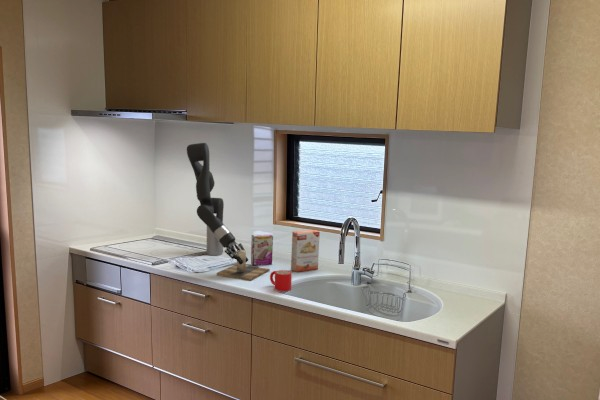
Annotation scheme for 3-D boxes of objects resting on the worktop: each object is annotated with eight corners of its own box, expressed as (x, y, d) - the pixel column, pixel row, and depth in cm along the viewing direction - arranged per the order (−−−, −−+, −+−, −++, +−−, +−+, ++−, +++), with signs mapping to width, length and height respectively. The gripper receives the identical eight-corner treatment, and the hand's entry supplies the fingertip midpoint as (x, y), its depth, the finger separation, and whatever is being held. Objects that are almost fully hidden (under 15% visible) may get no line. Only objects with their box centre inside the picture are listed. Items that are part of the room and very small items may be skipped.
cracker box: (296, 272, 279) (297, 233, 276) (290, 269, 284) (291, 231, 281) (318, 269, 286) (320, 231, 283) (312, 266, 291) (314, 229, 288)
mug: (274, 283, 259) (275, 267, 258) (294, 288, 252) (295, 272, 251) (264, 287, 253) (264, 270, 252) (284, 292, 246) (284, 275, 245)
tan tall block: (239, 269, 274) (239, 250, 272) (247, 270, 272) (247, 251, 270) (235, 271, 270) (235, 251, 268) (242, 272, 268) (243, 252, 266)
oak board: (236, 266, 288) (236, 263, 288) (269, 271, 280) (269, 268, 280) (216, 275, 270) (216, 272, 270) (251, 280, 262) (251, 278, 262)
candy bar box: (252, 266, 289) (253, 236, 287) (250, 263, 294) (251, 234, 291) (272, 264, 293) (273, 235, 290) (270, 262, 297) (270, 233, 295)
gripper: (221, 234, 264) (242, 261, 261) (236, 229, 277) (256, 255, 274) (212, 243, 267) (232, 270, 264) (227, 238, 280) (246, 263, 277)
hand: (244, 262), depth 269 cm, fingers closed on tan tall block, 4 cm apart
